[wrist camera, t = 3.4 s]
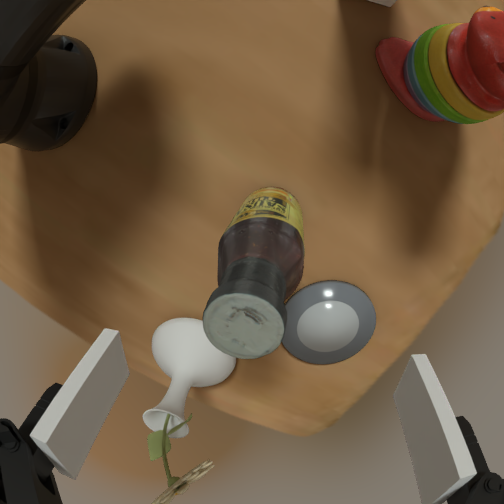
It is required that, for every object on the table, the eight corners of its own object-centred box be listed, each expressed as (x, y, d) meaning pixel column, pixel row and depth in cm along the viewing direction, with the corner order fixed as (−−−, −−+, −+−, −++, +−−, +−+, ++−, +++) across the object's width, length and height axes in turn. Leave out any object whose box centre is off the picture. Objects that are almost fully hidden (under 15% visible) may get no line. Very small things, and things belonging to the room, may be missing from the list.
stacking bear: (449, 34, 22) (549, -8, 6) (475, 116, 26) (590, 126, 9) (368, 41, 25) (445, -31, 8) (398, 131, 28) (505, 140, 11)
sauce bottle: (286, 174, 31) (291, 240, 12) (310, 228, 33) (339, 351, 14) (229, 200, 32) (159, 293, 14) (254, 251, 34) (222, 385, 16)
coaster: (274, 357, 40) (274, 361, 39) (283, 276, 35) (283, 279, 34) (361, 361, 39) (363, 365, 38) (384, 283, 34) (386, 287, 33)
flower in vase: (198, 386, 43) (151, 535, 20) (140, 337, 41) (55, 482, 18) (265, 347, 39) (242, 534, 16) (202, 287, 37) (113, 475, 14)
